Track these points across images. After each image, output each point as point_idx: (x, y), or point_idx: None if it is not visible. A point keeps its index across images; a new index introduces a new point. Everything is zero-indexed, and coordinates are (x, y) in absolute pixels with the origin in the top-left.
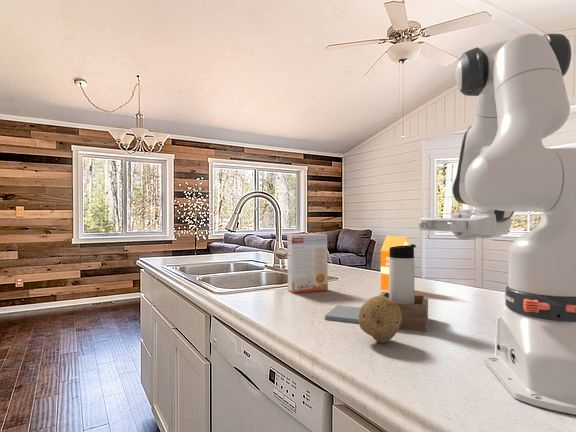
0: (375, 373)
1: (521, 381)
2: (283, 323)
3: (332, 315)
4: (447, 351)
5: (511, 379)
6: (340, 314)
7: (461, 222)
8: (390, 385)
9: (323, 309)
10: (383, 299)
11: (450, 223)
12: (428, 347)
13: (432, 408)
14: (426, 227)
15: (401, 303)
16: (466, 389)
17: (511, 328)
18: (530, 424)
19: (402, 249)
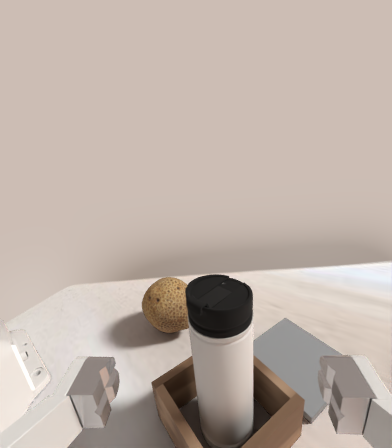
0: (131, 290)
1: (14, 344)
2: (281, 284)
3: (282, 325)
4: None
5: (23, 346)
6: (285, 337)
7: (9, 430)
8: (113, 288)
9: (352, 347)
10: (157, 281)
11: (89, 357)
12: (122, 360)
13: (80, 290)
14: (333, 422)
15: (192, 357)
16: (63, 319)
17: (3, 328)
18: (21, 315)
19: (196, 282)
